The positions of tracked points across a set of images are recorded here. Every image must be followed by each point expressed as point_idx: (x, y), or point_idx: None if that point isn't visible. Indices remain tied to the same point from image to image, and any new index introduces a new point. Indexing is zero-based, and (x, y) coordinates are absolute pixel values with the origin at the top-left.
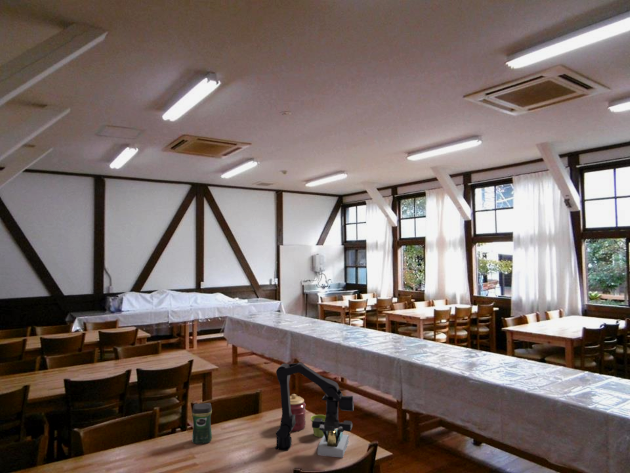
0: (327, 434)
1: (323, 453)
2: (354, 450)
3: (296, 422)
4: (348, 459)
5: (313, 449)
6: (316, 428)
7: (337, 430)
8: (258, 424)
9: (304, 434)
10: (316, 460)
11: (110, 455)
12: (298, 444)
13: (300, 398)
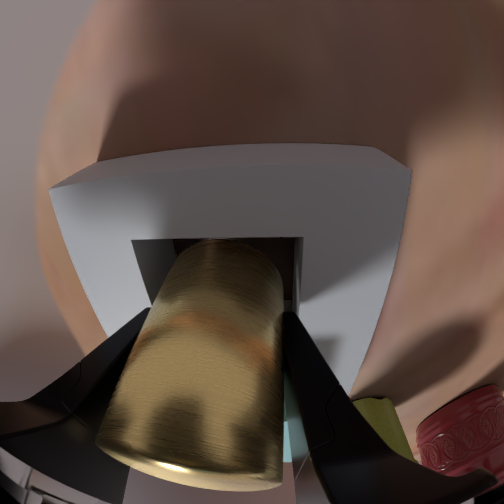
0: (290, 417)
1: (308, 148)
2: (86, 301)
3: (472, 428)
4: (53, 152)
5: (418, 253)
6: (390, 439)
7: (7, 451)
8: None
9: (436, 391)
10: (355, 20)
11: None
12: (496, 296)
13: None
